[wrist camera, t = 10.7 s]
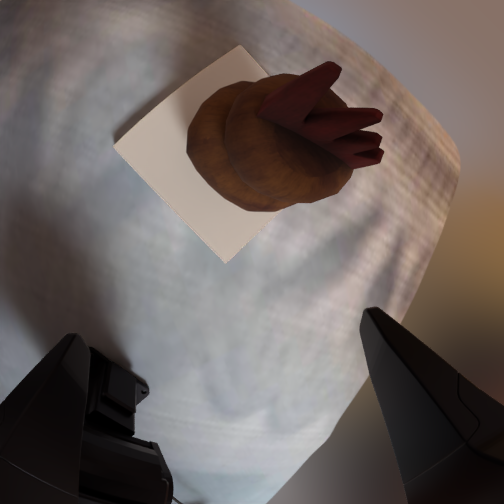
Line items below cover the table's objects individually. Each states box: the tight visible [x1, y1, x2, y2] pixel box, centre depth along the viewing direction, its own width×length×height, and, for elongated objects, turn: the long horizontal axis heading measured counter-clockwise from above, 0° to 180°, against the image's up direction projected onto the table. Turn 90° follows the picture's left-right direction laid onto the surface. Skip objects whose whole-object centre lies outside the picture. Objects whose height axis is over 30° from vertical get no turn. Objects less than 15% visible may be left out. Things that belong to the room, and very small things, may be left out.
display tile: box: [113, 45, 283, 263], centre depth 19 cm, size 11×11×1 cm
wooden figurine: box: [186, 61, 384, 212], centre depth 12 cm, size 7×6×15 cm
